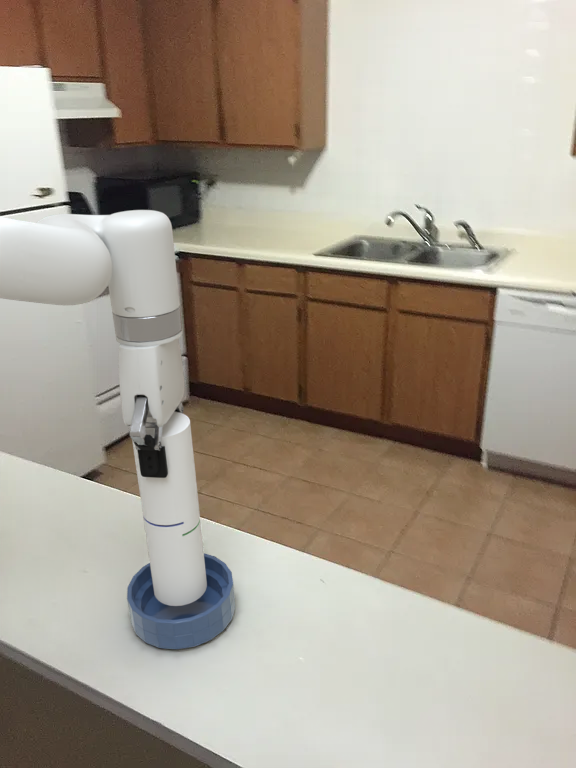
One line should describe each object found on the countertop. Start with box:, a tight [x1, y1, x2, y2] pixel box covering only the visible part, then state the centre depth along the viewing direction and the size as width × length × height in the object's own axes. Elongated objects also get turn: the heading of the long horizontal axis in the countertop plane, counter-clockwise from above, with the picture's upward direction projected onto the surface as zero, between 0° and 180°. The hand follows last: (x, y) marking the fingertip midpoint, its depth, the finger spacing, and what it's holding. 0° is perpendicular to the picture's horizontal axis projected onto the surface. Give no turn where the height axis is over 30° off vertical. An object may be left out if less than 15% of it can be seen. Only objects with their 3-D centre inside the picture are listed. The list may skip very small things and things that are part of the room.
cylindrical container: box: [131, 412, 207, 606], centre depth 86 cm, size 7×7×25 cm
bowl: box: [126, 552, 236, 650], centre depth 92 cm, size 14×14×5 cm
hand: (164, 458), depth 83 cm, fingers closed on cylindrical container, 7 cm apart
